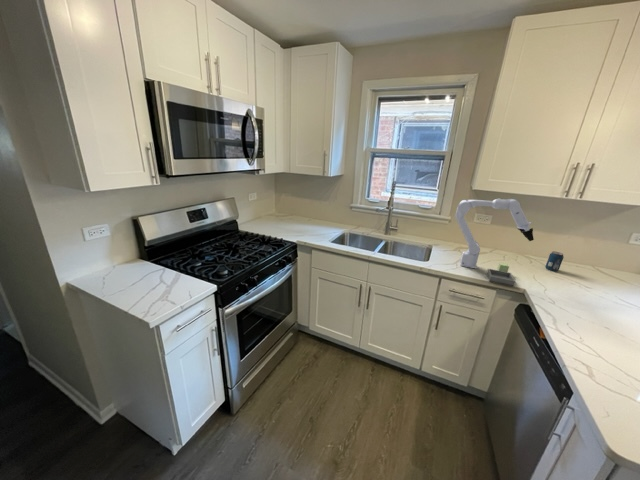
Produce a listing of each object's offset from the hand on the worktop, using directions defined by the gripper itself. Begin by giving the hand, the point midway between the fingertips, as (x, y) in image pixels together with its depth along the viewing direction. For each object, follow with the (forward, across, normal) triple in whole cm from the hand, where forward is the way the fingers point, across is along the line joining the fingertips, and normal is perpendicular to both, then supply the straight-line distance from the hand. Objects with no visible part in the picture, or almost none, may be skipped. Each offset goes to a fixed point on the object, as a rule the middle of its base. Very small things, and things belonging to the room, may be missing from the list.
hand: (529, 238), depth 157 cm
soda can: (+33, +23, -6) cm, 41 cm away
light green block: (+15, -1, +21) cm, 26 cm away
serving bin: (+14, -13, +24) cm, 30 cm away
